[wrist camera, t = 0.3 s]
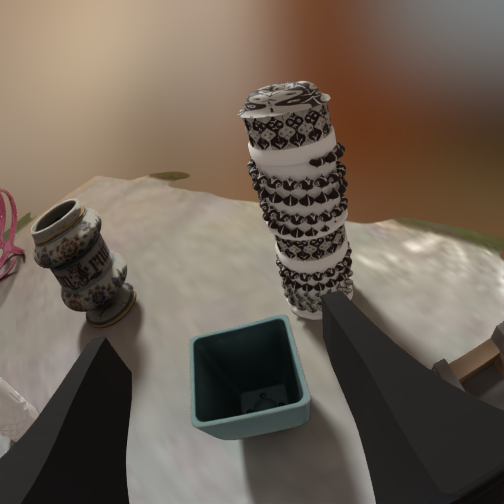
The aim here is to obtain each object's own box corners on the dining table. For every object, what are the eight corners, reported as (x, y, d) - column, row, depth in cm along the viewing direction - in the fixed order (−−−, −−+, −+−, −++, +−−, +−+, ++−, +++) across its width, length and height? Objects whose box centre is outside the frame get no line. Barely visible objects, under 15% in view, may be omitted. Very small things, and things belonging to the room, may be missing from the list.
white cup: (5, 438, 29) (-44, 403, 23) (22, 398, 35) (-22, 360, 29) (31, 455, 26) (-24, 420, 21) (49, 410, 32) (0, 369, 26)
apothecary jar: (153, 300, 46) (95, 199, 35) (92, 346, 41) (19, 253, 30) (127, 270, 54) (80, 185, 43) (76, 307, 49) (20, 227, 39)
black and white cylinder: (344, 261, 42) (317, 73, 27) (365, 311, 35) (349, 84, 20) (279, 277, 43) (227, 92, 28) (289, 330, 36) (226, 109, 21)
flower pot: (321, 438, 25) (312, 402, 19) (228, 458, 25) (190, 427, 20) (300, 364, 32) (286, 311, 26) (221, 384, 32) (188, 336, 27)
